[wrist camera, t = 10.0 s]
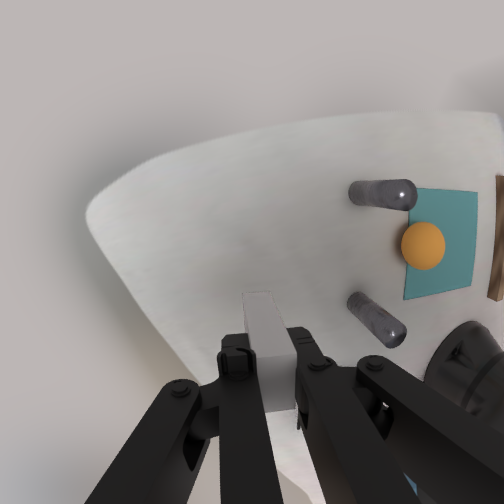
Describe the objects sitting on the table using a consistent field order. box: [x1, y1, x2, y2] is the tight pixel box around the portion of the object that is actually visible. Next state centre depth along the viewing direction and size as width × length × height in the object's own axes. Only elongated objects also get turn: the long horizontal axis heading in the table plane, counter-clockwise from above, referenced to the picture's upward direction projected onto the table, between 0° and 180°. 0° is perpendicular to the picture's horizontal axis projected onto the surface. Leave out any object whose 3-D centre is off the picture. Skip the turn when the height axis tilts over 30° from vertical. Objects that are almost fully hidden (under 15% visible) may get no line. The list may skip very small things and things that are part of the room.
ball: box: [401, 222, 445, 270], centre depth 28 cm, size 6×6×6 cm
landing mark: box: [403, 188, 478, 300], centre depth 31 cm, size 14×14×1 cm
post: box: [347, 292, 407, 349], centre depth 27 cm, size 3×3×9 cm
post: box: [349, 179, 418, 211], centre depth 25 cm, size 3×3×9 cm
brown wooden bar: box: [487, 176, 504, 302], centre depth 31 cm, size 20×2×2 cm, turn 3°
